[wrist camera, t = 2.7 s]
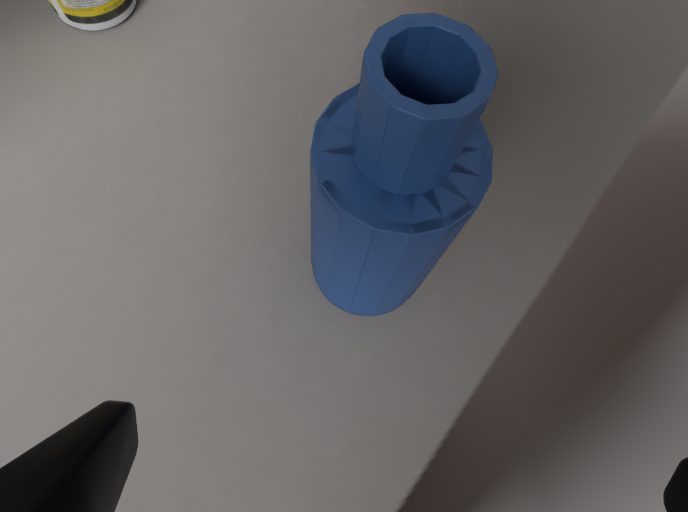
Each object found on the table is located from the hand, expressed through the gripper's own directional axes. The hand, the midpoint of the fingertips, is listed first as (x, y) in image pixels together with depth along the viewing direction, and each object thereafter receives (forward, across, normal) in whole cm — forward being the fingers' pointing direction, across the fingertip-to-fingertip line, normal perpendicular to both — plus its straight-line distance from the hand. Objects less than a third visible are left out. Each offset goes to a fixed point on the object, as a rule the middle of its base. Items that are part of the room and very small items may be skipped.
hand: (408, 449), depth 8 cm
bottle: (+15, 0, +4) cm, 16 cm away
